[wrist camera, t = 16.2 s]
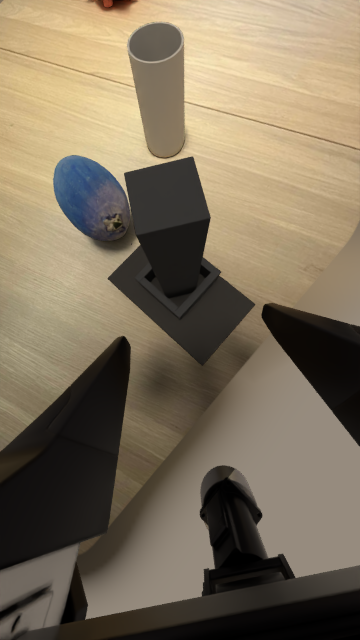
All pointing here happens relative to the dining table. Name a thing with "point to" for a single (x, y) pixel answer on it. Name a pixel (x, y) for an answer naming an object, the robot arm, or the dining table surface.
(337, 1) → the dining table surface
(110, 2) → the teapot
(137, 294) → the base pad
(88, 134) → the dining table surface
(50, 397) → the dining table surface
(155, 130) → the cup
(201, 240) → the pad block
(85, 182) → the blue oval fruit
